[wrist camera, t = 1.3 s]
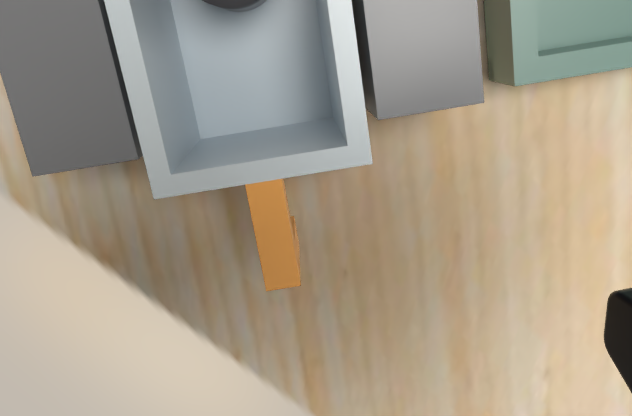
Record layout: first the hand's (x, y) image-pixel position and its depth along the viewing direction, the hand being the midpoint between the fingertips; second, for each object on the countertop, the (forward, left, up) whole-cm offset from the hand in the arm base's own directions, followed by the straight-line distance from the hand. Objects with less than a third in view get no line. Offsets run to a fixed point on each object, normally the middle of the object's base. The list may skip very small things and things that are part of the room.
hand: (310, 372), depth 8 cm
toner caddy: (+4, +1, -14) cm, 15 cm away
